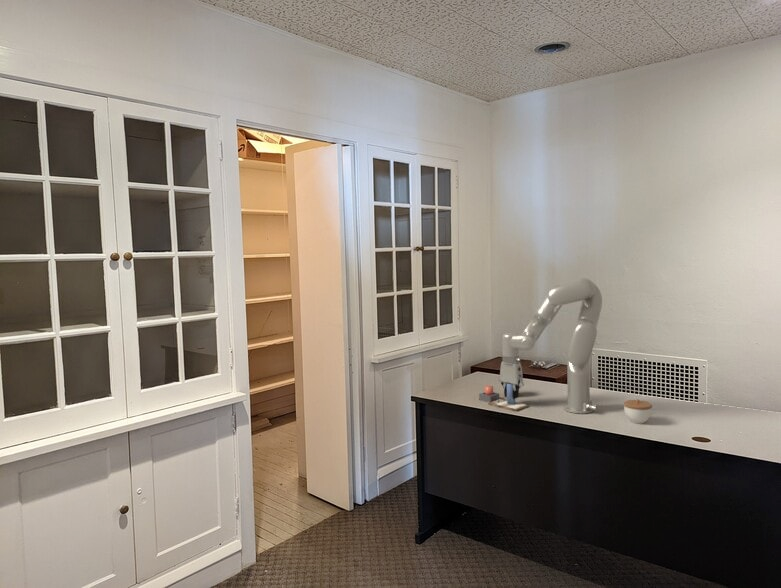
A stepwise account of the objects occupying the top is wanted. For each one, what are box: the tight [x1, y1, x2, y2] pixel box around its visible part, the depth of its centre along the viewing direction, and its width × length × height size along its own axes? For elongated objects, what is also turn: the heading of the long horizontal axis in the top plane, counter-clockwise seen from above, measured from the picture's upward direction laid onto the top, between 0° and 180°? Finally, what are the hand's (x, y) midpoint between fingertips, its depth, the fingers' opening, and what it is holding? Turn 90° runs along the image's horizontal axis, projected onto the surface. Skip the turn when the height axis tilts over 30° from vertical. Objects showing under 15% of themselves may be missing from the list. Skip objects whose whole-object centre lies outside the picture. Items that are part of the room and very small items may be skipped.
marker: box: [506, 382, 516, 404], centre depth 255 cm, size 4×4×12 cm
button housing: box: [478, 391, 500, 403], centre depth 267 cm, size 7×7×3 cm
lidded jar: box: [623, 398, 653, 425], centre depth 227 cm, size 11×11×9 cm
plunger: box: [484, 385, 494, 395], centre depth 266 cm, size 4×4×5 cm
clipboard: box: [487, 398, 530, 412], centre depth 256 cm, size 16×10×1 cm, turn 41°
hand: (511, 396), depth 255 cm, fingers closed on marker, 4 cm apart
